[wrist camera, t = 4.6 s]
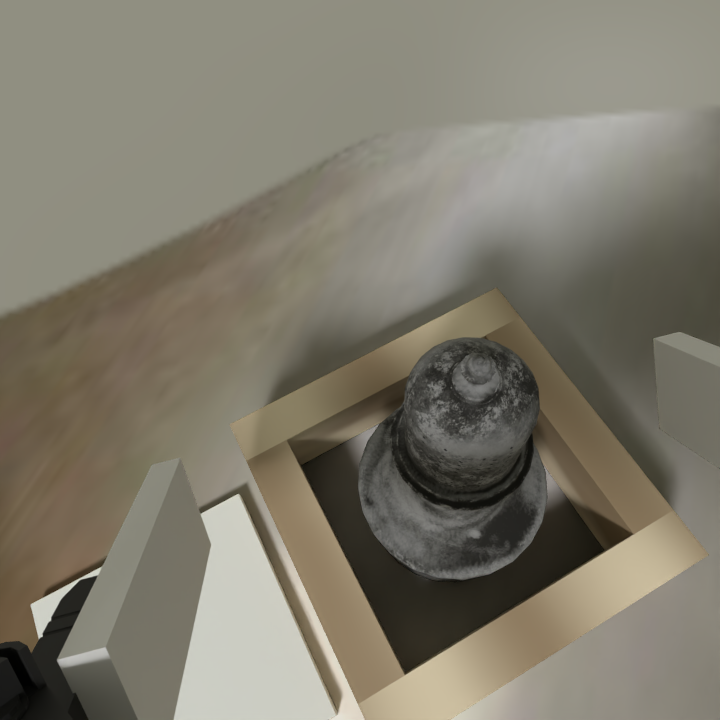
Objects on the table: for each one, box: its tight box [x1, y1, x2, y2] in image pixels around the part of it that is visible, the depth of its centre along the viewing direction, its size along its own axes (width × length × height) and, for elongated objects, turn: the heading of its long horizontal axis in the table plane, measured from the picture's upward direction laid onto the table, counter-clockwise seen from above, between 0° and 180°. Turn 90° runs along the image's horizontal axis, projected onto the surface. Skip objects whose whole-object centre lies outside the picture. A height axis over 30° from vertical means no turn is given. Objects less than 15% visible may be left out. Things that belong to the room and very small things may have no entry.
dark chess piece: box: [358, 337, 547, 582], centre depth 16 cm, size 6×6×12 cm
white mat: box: [31, 494, 338, 720], centre depth 20 cm, size 8×8×1 cm
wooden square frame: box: [230, 288, 709, 720], centre depth 20 cm, size 11×11×3 cm
